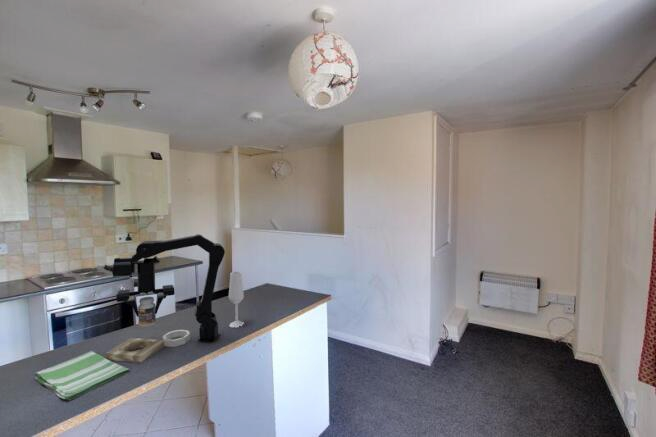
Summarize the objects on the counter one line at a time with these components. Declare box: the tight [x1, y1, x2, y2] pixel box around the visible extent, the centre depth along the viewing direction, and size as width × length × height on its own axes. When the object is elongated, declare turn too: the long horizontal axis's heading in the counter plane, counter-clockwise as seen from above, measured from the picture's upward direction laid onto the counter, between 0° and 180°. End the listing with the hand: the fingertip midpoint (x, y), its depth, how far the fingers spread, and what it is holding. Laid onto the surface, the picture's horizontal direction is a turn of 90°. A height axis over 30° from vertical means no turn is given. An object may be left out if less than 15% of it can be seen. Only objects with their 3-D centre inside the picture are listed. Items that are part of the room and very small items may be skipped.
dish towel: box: [34, 350, 131, 401], centre depth 101 cm, size 18×23×3 cm
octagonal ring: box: [162, 329, 191, 348], centre depth 125 cm, size 10×10×2 cm
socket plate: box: [105, 337, 165, 364], centre depth 116 cm, size 14×12×2 cm
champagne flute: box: [228, 271, 245, 328], centre depth 141 cm, size 7×7×24 cm
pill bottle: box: [137, 296, 157, 327], centre depth 117 cm, size 6×6×10 cm
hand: (146, 314), depth 118 cm, fingers closed on pill bottle, 6 cm apart
